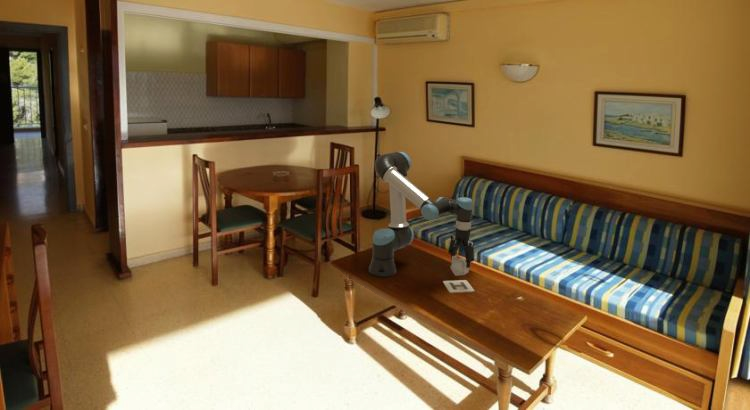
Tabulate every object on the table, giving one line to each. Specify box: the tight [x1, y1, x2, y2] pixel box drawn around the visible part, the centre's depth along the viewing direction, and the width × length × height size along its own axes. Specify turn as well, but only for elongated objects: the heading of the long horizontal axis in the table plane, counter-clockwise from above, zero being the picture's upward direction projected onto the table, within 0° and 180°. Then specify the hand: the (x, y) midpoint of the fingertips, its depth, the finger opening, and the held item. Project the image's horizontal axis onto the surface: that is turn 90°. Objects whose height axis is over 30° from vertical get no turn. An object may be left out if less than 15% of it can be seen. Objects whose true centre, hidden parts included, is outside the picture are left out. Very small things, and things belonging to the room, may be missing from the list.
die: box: [449, 258, 467, 277], centre depth 251 cm, size 8×9×10 cm
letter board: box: [442, 279, 476, 294], centre depth 254 cm, size 13×13×1 cm
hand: (459, 270), depth 252 cm, fingers closed on die, 8 cm apart
